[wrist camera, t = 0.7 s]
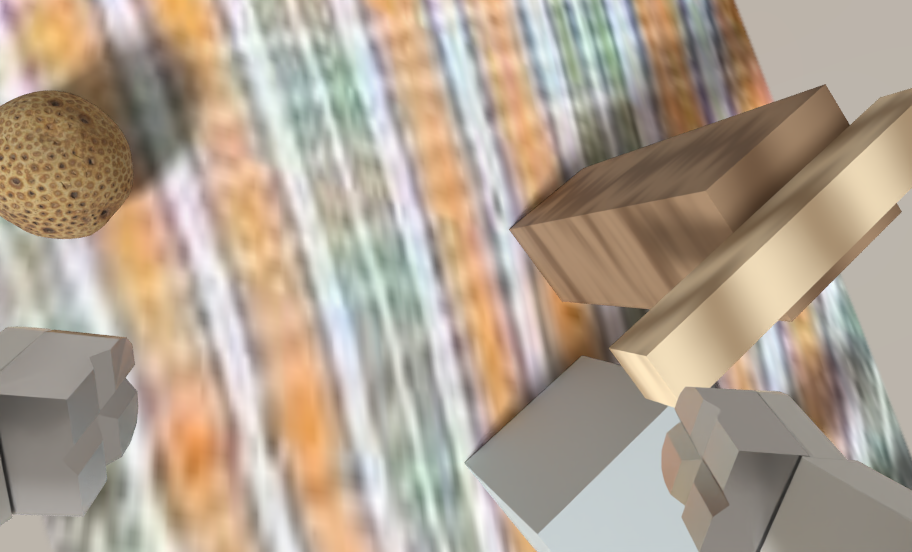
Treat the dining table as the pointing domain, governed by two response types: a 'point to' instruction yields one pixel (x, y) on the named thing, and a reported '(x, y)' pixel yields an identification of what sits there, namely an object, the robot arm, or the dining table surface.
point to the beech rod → (772, 257)
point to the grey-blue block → (586, 467)
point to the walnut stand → (678, 204)
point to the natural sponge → (61, 165)
